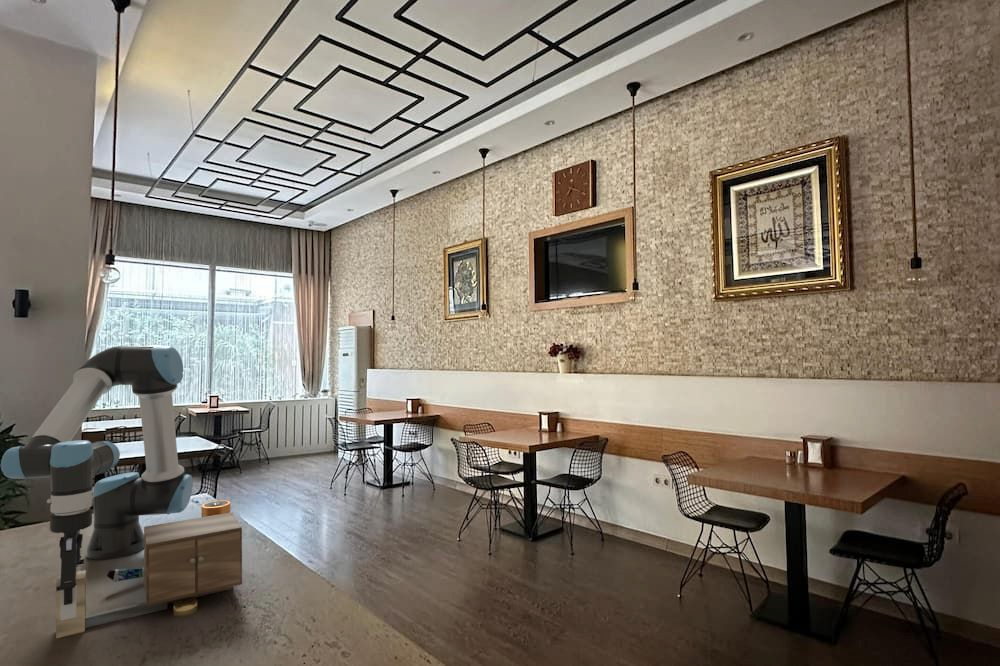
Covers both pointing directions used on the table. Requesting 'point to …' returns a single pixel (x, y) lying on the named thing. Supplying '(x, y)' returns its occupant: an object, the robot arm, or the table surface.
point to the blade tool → (84, 621)
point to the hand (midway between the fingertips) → (70, 606)
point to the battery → (215, 508)
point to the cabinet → (192, 558)
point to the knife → (125, 574)
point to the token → (185, 607)
